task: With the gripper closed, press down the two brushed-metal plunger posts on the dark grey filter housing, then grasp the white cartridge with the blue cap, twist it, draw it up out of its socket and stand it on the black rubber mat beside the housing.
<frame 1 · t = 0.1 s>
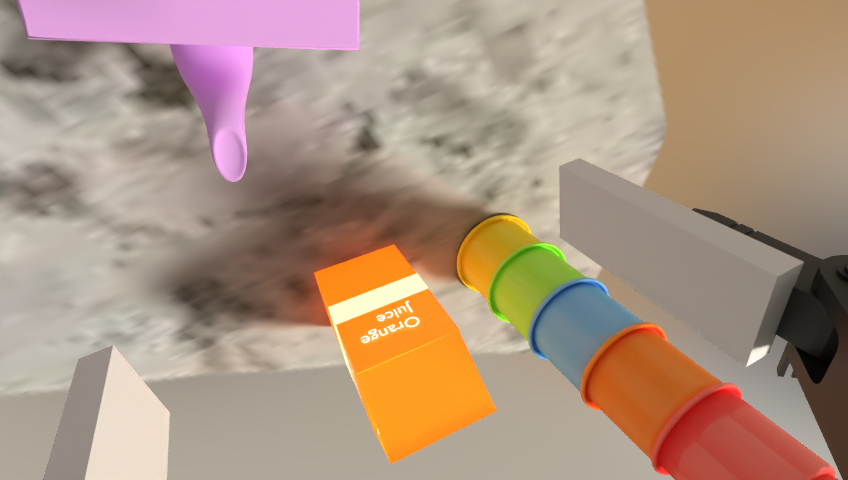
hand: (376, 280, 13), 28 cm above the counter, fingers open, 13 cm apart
stacking cups: (492, 251, 54), on the counter
orange juice: (361, 285, 48), on the counter
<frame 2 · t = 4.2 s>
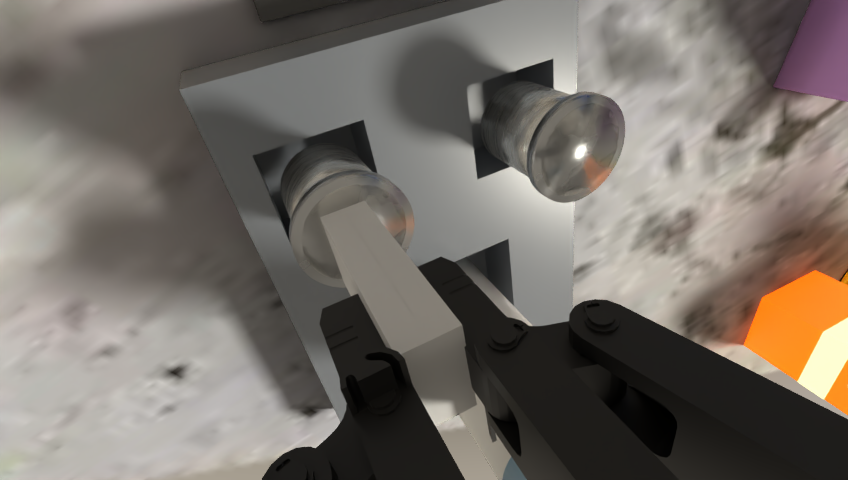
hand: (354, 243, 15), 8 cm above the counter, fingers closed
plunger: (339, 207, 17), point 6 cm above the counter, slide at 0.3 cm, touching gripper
housing: (418, 229, 26), on the counter
orange juice: (777, 307, 52), on the counter
cartridge: (433, 286, 27), resting on housing
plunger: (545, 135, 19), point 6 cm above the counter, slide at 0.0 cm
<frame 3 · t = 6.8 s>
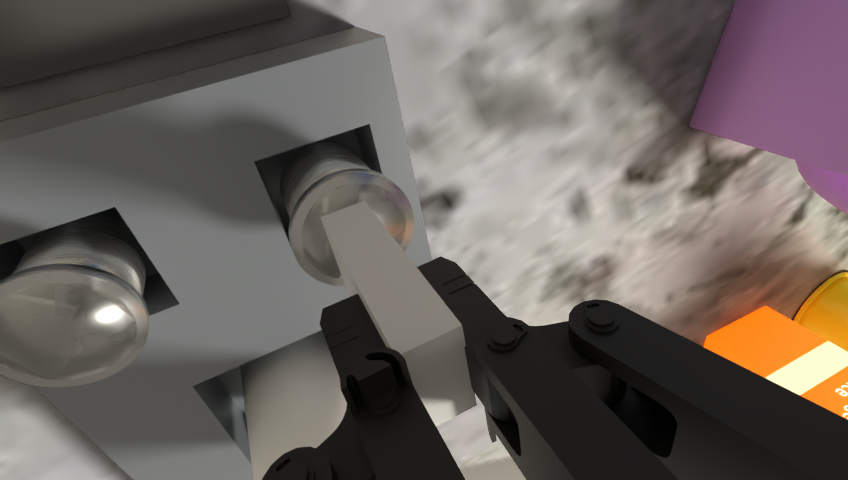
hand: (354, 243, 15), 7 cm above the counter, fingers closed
teapot: (788, 44, 30), on the counter
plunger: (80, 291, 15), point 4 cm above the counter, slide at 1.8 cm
housing: (264, 299, 23), on the counter
stacking cups: (817, 305, 55), on the counter
orange juice: (726, 343, 49), on the counter
cartridge: (293, 358, 25), resting on housing
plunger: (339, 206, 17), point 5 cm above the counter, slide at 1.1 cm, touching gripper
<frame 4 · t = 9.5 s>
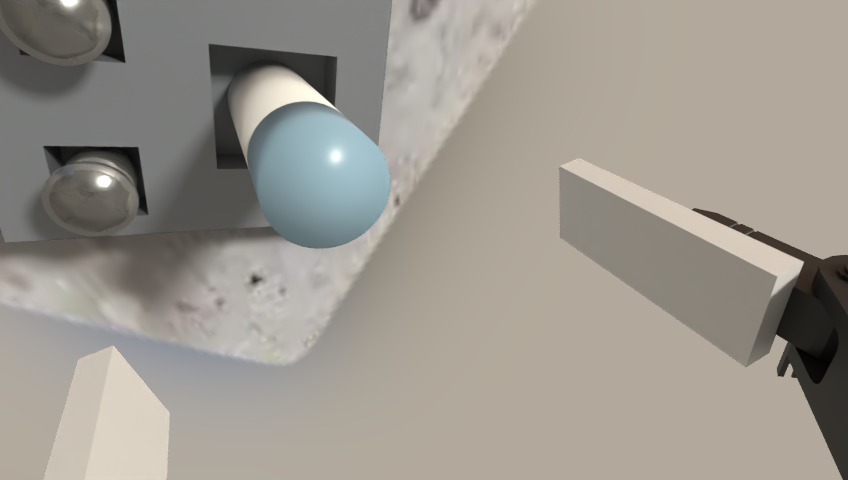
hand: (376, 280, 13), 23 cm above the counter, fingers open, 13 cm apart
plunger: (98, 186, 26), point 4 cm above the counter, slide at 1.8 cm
housing: (205, 97, 29), on the counter
cartridge: (270, 102, 31), resting on housing
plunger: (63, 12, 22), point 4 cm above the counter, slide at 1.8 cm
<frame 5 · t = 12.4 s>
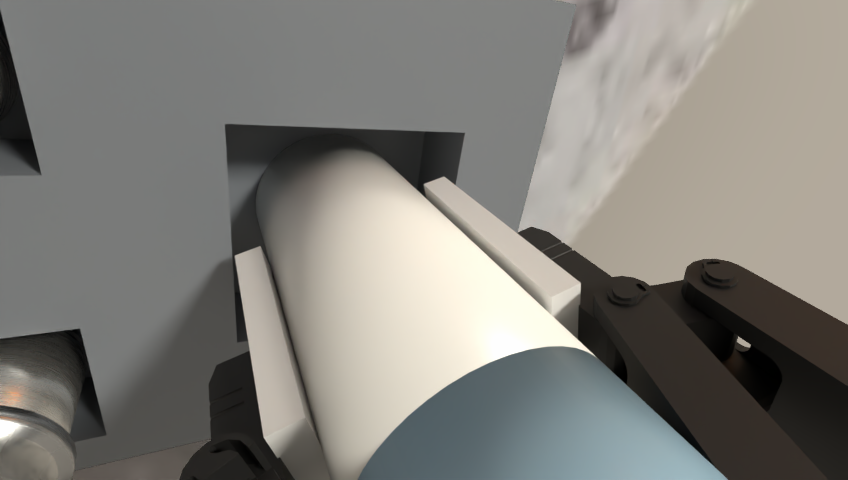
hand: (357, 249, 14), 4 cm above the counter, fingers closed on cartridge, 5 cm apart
housing: (215, 201, 16), on the counter
cartridge: (329, 202, 17), resting on housing, touching gripper
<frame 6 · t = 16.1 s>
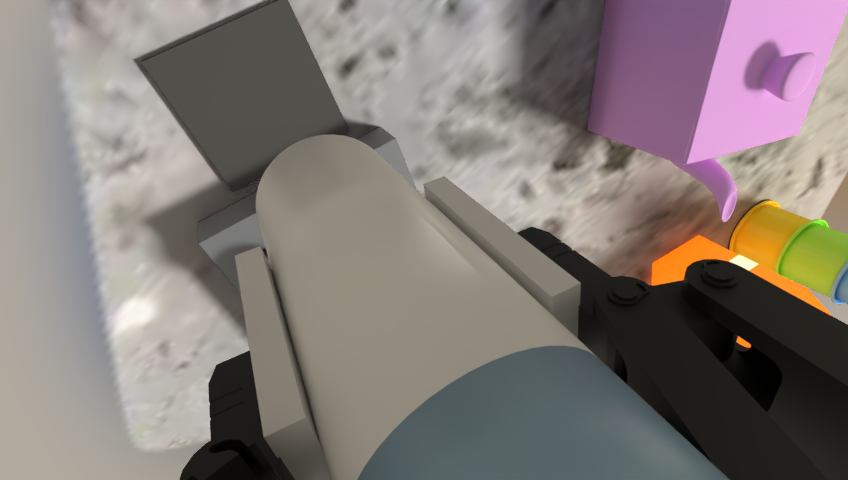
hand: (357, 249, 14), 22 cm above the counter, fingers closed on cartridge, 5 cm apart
teapot: (649, 66, 46), on the counter
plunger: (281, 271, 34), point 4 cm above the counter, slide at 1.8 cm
housing: (350, 270, 42), on the counter
mat: (257, 99, 32), on the counter
stacking cups: (750, 229, 70), on the counter
orange juice: (673, 267, 66), on the counter
cartridge: (329, 203, 17), point 19 cm above the counter, touching gripper
when the fingers open (5 cm above the counter, at t = 19.8 s): cartridge stays where it is, resting on mat.
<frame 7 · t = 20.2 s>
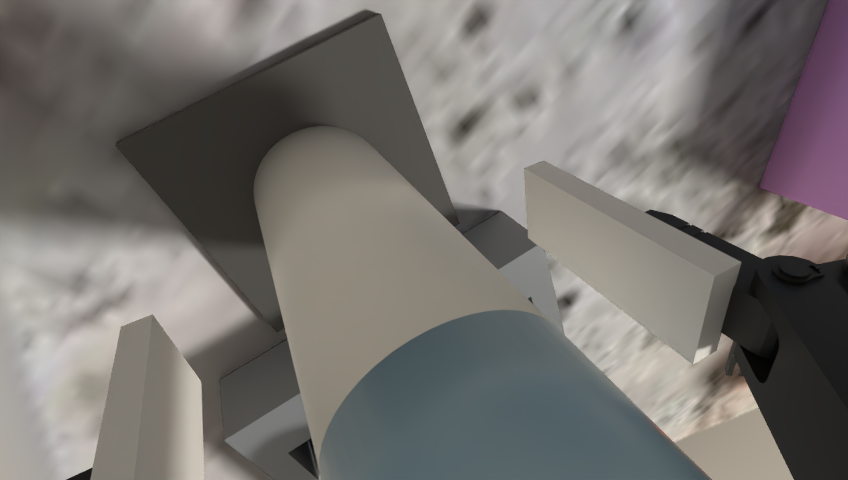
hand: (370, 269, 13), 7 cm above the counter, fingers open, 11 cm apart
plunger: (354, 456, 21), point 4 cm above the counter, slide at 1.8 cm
housing: (437, 404, 29), on the counter
mat: (320, 188, 19), on the counter
cartridge: (323, 191, 18), resting on mat
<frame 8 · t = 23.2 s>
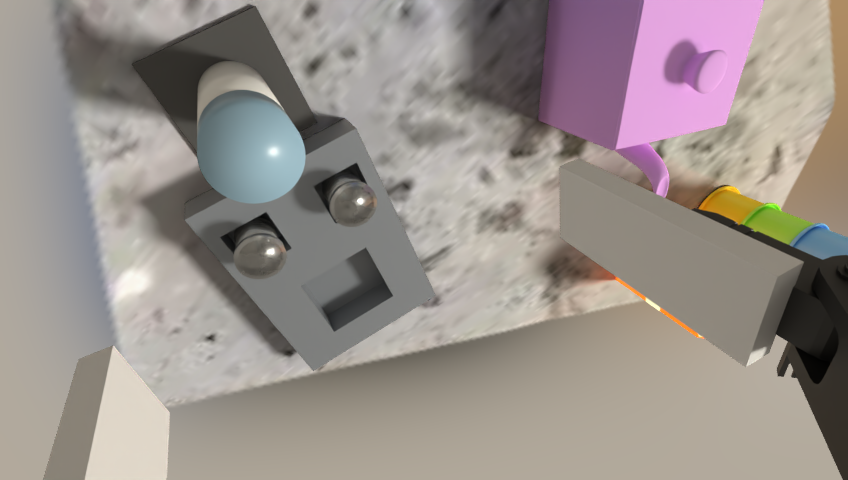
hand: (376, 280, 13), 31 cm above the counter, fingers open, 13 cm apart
teapot: (595, 62, 51), on the counter
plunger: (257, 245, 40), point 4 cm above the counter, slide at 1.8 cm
housing: (323, 247, 47), on the counter
mat: (233, 95, 37), on the counter
stacking cups: (711, 213, 75), on the counter
orange juice: (636, 249, 71), on the counter
cartridge: (234, 96, 37), resting on mat
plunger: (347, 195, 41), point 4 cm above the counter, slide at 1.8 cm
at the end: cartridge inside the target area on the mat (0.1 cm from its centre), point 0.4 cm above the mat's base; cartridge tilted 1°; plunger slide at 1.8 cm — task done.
